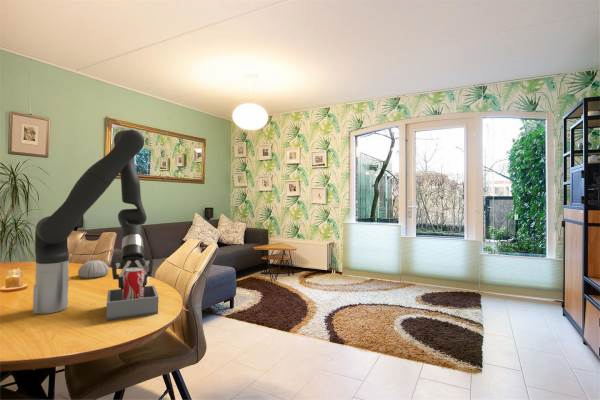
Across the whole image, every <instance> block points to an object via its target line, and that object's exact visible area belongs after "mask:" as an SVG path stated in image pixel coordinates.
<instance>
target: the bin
mask: <svg viewBox="0 0 600 400" xmlns="http://www.w3.org/2000/svg"><path fill="white" fill-rule="evenodd" d="M106 297H107V299H106V315H105V317H106V318H105V319H106V320H105V321H106V322H109V321H116V320H117V321H118V320H123V319H129V318H131V319H132V318H135V317H136V318H137V317H144V316H150V315H151V316H152V315H157V314H159V294H158V291H157V289H156V286H155V285H145V287H144V297H143V298H137V299H129V300H122V289H121V288H115V289H108V290H107V296H106Z"/></svg>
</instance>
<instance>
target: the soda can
mask: <svg viewBox="0 0 600 400" xmlns="http://www.w3.org/2000/svg"><path fill="white" fill-rule="evenodd" d="M143 268H144V267H143ZM143 268H140V267H132V268H127V269H125V272H124V274H123V289H122V300H129V299H137V298H143V297H144V286H143V282H144V272H143Z"/></svg>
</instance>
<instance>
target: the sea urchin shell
mask: <svg viewBox="0 0 600 400" xmlns="http://www.w3.org/2000/svg"><path fill="white" fill-rule="evenodd" d="M109 273H110V267H109V266H108V265H107V263H105V262H104V261H102V260H100V259H94V260H93V259H91V260H89V261H86V262H85V263H83V264H82V265H81V266H80V267H79V269H78V271H77V274H78V276H79V277H80V278H84V279H87V278H88V279H89V278H100V277H103V276H106V275H108V274H109Z"/></svg>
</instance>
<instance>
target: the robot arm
mask: <svg viewBox="0 0 600 400" xmlns="http://www.w3.org/2000/svg"><path fill="white" fill-rule="evenodd" d="M113 144H114V147H113V148H112V149H111V150H110V151H109V152H108V153H107V154H106V155H105V156H103V157H102V158H101V159H99V160H97V161H96V162H94V164H92V165H91V166H90V167H89V168H87V170H86V171H84V173H83V174H82V175H81V176H79V177H80V178H79V179H78V180H77V181H76V183H75V184H74V185H73V187H72V188H71V190H70V192H69V194H68V196H67V197H66V199H65V201H64V202H63V203H62V204H61V205H60V206H59V208H57V209H56V210H55V211H54V212H52V214H51V215H48V216H44V217H43V218H41V219H40V220H39V221H38V222H37V224H36V226H35V230H34V231H35V232H34V233H35V234H34V236H35V237H34V245H35V246H34V254H35V283H34V285H33V294H32V295H33V296H32V297H33V299H32V301H33V302H32V303H33V305H32V314H33V315H37V314H39V315H40V314H41V315H44V314H53V313H59V312H61V311H64V310H66V309H67V308H68V305H69V302H68V301H69V298H68V297H69V271H70V270H69V268H70V267H69V263H70V262H69V261H70V260H69V259H70V253H69V249H68V246H69V245H68V238H69V236H71V234H72V232H73V231H74V229H75V227H76V226H77V225H78V223H80V221H81V219H82V218H83V216H84V215H85V214H86V213H87V211H88V210H89V209H90V208H91V207H92V206H93V205H94V204H95V203H96V202H97V201H98V199H99V198H100V197H101V196H103V194H104V193H105V191H107V189H108V188H109V186H111V184H112V183H113V182H114V181H115V180H116V178H117V177H118V176H119V175H120V184H121V185H120V186H121V187H120V188H121V201H122V203H123V204H129V205H133V206H135V207H136V208H124V209H121V210H120V211H119V212H118V215H117V220H118V223H119V224H120V227H121V229H122V230H121V231H122V240H121V241H122V242H121V259H120V262H115V261H114V262H113V261H112V263H111V271H112V273H111V275H112V280H117V281H118V286H117V287H118V289H123V274H124V272H125V269H127V268H132V267H140V268H143V272H144V282H143V286H144V287H145V286H148V285H147V283H148V277H152V275H153V267H154V266H153V265H154V260H153V259H150V260H145V257H144V256H145V255H144V250H145V249H144V240H143V229H142V227H141V225H142V226H143V225H144V224H145V223H146V221H147V213H146V211H145V207H144V206H143V205H144V204H143V201H142V196H141V195H142V194H141V183H140V178H139V174H138V172H137V168H136V164H135V156H136V155H137V154H138V153H140V152H141V151H142V150H143V147H144V145H145V137H144V136H143V134H142V133H141V132H140V131H139V130H135V129H126V130H125V129H124V130H120V131H118V132H117V133H115V134H114V136H113ZM145 265H146V267H148V271H146V270H145V268H144V267H145ZM119 267H120V268H121V269H122V270H121V271H120V273H119V274H118V273H117V270H118V269H119Z"/></svg>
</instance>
